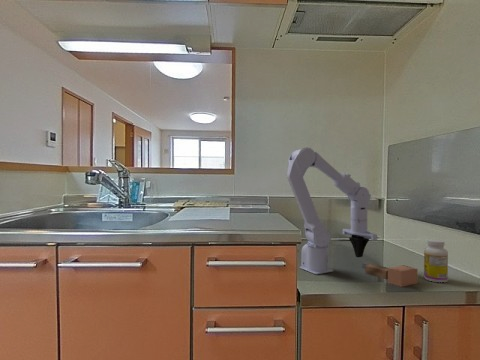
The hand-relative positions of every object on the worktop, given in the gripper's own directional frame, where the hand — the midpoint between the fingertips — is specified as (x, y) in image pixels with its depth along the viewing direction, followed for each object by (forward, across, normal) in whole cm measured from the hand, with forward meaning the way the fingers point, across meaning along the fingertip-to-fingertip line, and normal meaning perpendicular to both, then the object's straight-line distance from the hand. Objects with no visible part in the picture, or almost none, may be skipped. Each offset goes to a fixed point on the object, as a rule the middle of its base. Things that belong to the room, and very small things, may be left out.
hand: (359, 256), depth 121 cm
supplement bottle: (+5, -21, -12) cm, 25 cm away
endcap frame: (+4, -10, 0) cm, 11 cm away
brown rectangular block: (+5, -9, 0) cm, 10 cm away
